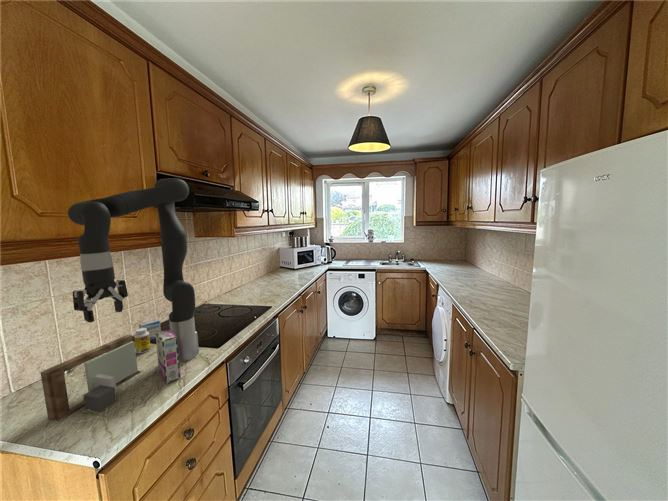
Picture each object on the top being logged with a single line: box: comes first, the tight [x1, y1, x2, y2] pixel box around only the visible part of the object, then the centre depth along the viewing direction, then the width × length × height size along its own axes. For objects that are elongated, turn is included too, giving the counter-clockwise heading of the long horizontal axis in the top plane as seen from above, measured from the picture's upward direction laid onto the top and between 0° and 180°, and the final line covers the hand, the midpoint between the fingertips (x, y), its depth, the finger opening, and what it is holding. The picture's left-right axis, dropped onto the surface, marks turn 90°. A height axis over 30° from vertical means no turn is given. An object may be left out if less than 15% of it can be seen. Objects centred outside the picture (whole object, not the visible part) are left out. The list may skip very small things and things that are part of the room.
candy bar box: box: [155, 328, 181, 384], centre depth 102 cm, size 11×5×16 cm, turn 45°
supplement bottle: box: [133, 328, 152, 354], centre depth 122 cm, size 6×6×10 cm
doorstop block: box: [83, 385, 117, 413], centre depth 87 cm, size 5×6×5 cm
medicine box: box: [138, 318, 162, 342], centre depth 135 cm, size 8×4×9 cm, turn 143°
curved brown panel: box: [40, 334, 141, 422], centre depth 92 cm, size 26×4×15 cm, turn 165°
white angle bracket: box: [83, 340, 139, 394], centre depth 95 cm, size 16×8×12 cm, turn 165°
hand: (105, 316), depth 86 cm, fingers open, 8 cm apart
